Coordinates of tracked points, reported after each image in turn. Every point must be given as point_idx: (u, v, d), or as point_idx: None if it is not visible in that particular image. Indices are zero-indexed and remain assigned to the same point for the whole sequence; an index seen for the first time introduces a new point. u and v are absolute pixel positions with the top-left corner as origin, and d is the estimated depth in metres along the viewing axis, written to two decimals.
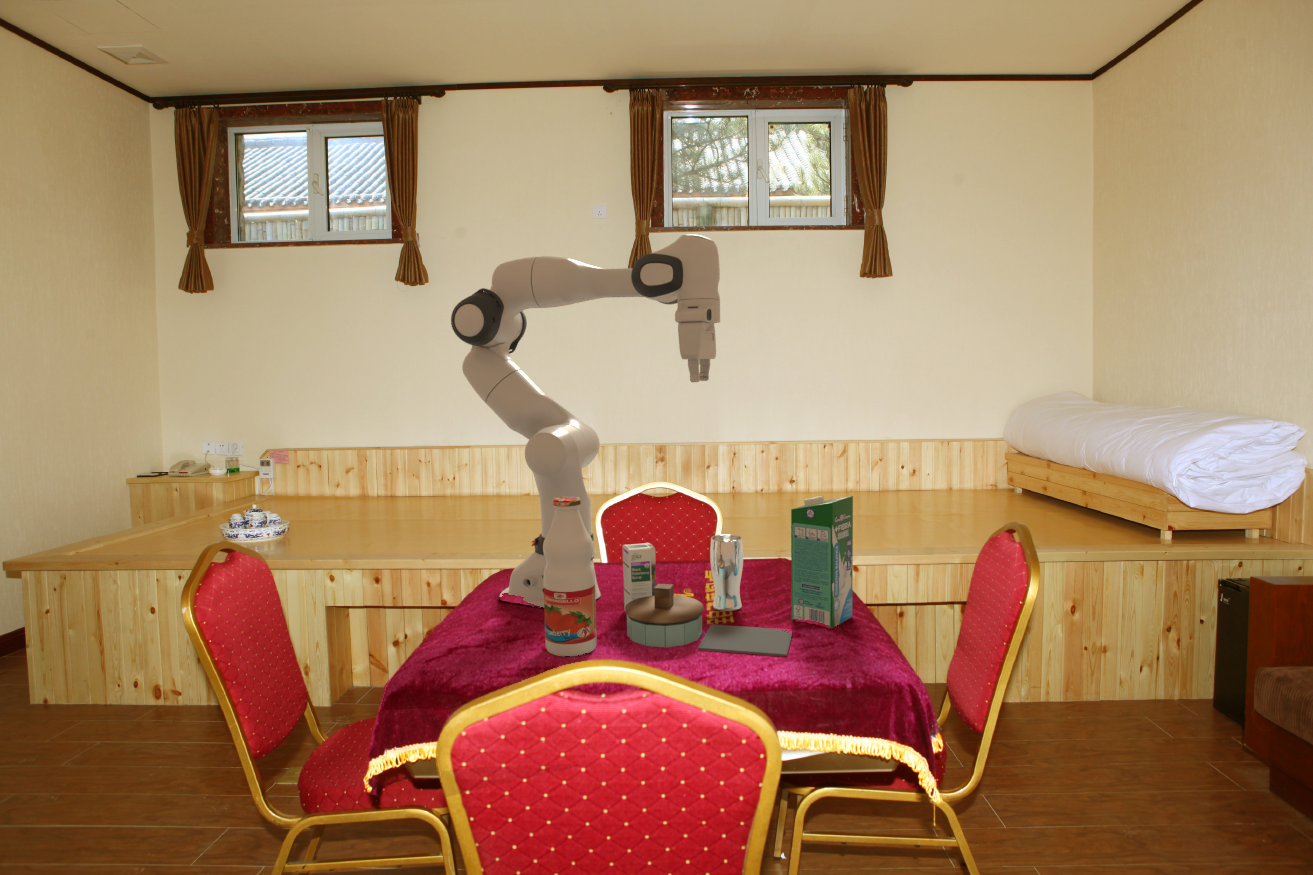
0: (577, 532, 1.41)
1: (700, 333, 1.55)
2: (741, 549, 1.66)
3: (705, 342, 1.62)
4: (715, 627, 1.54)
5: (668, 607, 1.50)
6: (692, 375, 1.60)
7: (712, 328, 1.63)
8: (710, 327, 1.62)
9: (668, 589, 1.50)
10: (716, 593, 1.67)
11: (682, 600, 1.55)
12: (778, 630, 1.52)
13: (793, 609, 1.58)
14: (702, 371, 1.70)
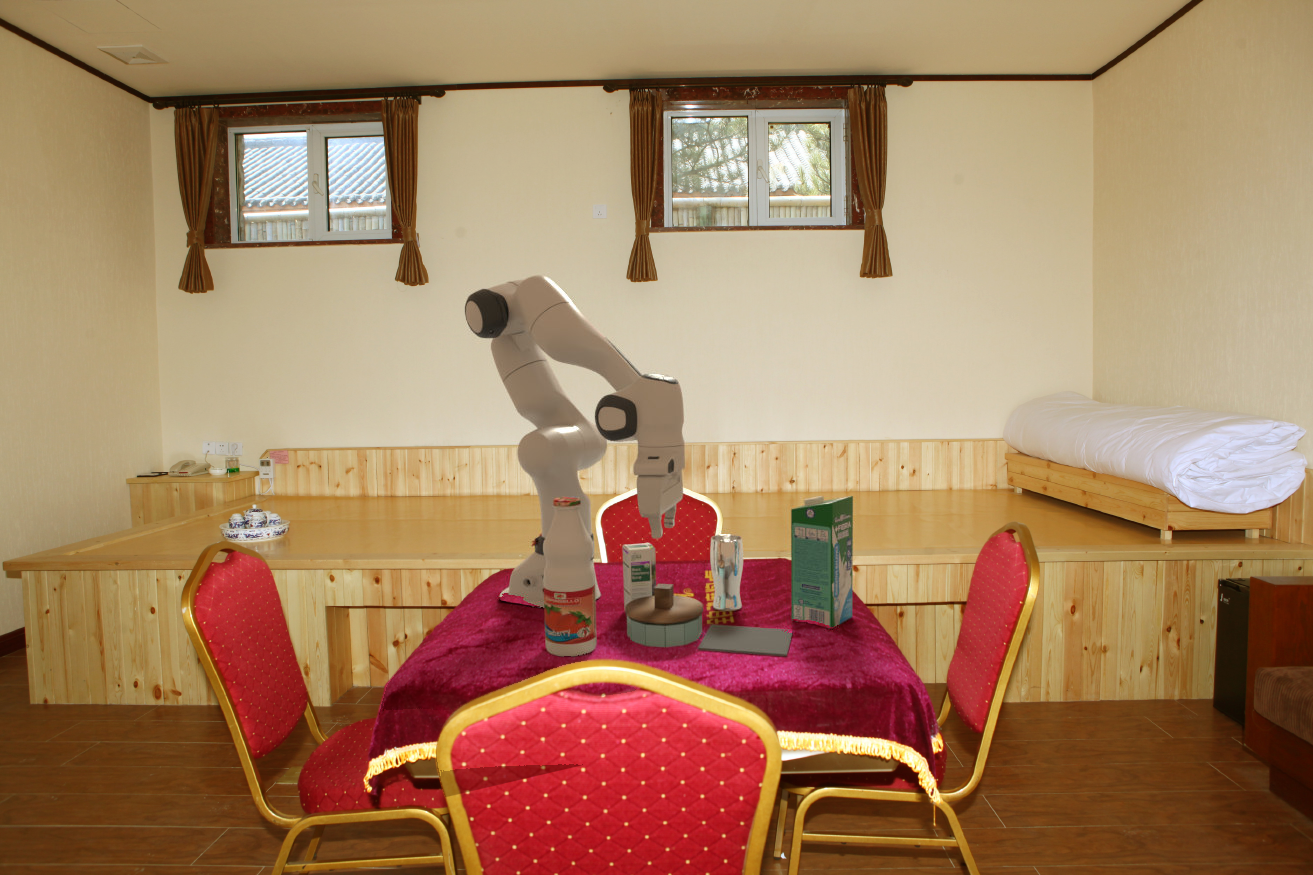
0: (577, 532, 1.41)
1: (661, 490, 1.40)
2: (741, 549, 1.66)
3: (668, 492, 1.47)
4: (715, 627, 1.54)
5: (668, 607, 1.50)
6: (654, 530, 1.45)
7: (676, 476, 1.48)
8: (673, 475, 1.47)
9: (668, 589, 1.50)
10: (716, 593, 1.67)
11: (682, 600, 1.55)
12: (778, 630, 1.52)
13: (793, 609, 1.58)
14: (667, 516, 1.55)
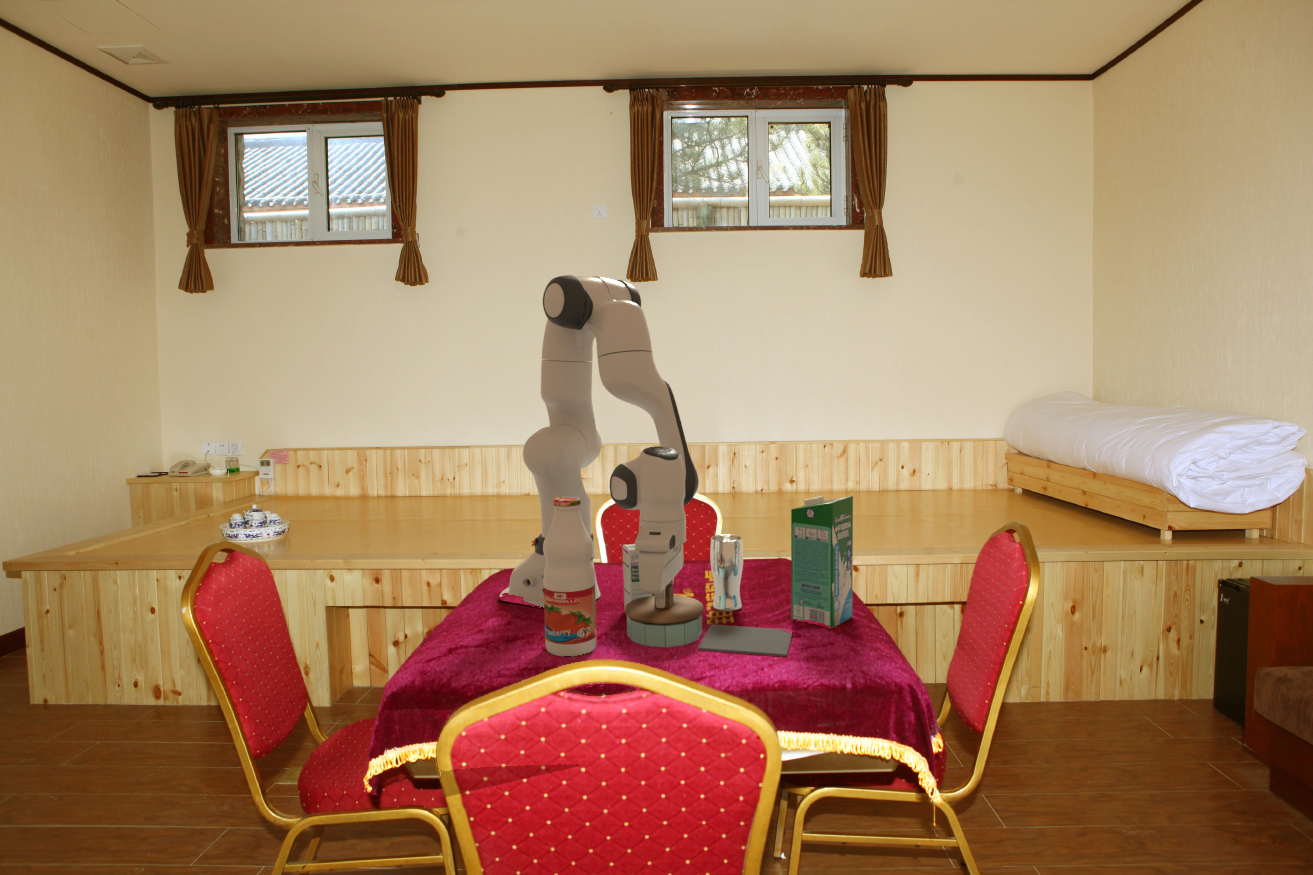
0: (577, 532, 1.41)
1: (662, 567, 1.41)
2: (741, 549, 1.66)
3: (669, 565, 1.49)
4: (715, 627, 1.54)
5: (668, 607, 1.50)
6: (658, 600, 1.49)
7: (677, 549, 1.49)
8: (675, 549, 1.49)
9: (668, 589, 1.50)
10: (716, 593, 1.67)
11: (682, 600, 1.55)
12: (778, 630, 1.52)
13: (793, 609, 1.58)
14: None
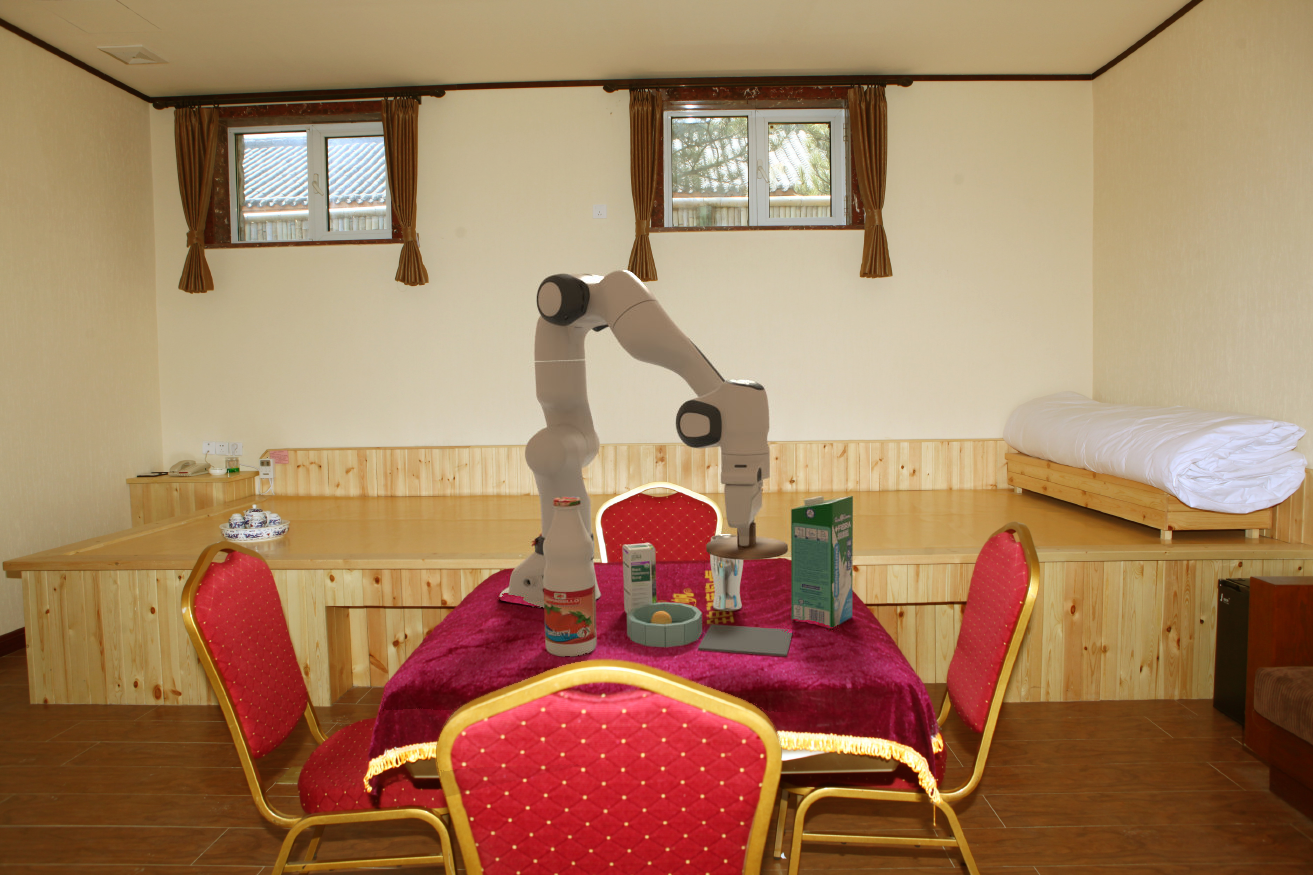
0: (577, 532, 1.41)
1: (750, 499, 1.36)
2: None
3: (753, 501, 1.43)
4: (715, 627, 1.54)
5: (752, 545, 1.44)
6: (741, 538, 1.43)
7: (761, 484, 1.44)
8: (759, 484, 1.43)
9: (752, 526, 1.44)
10: (716, 593, 1.67)
11: (763, 540, 1.50)
12: (778, 630, 1.52)
13: (793, 609, 1.58)
14: None
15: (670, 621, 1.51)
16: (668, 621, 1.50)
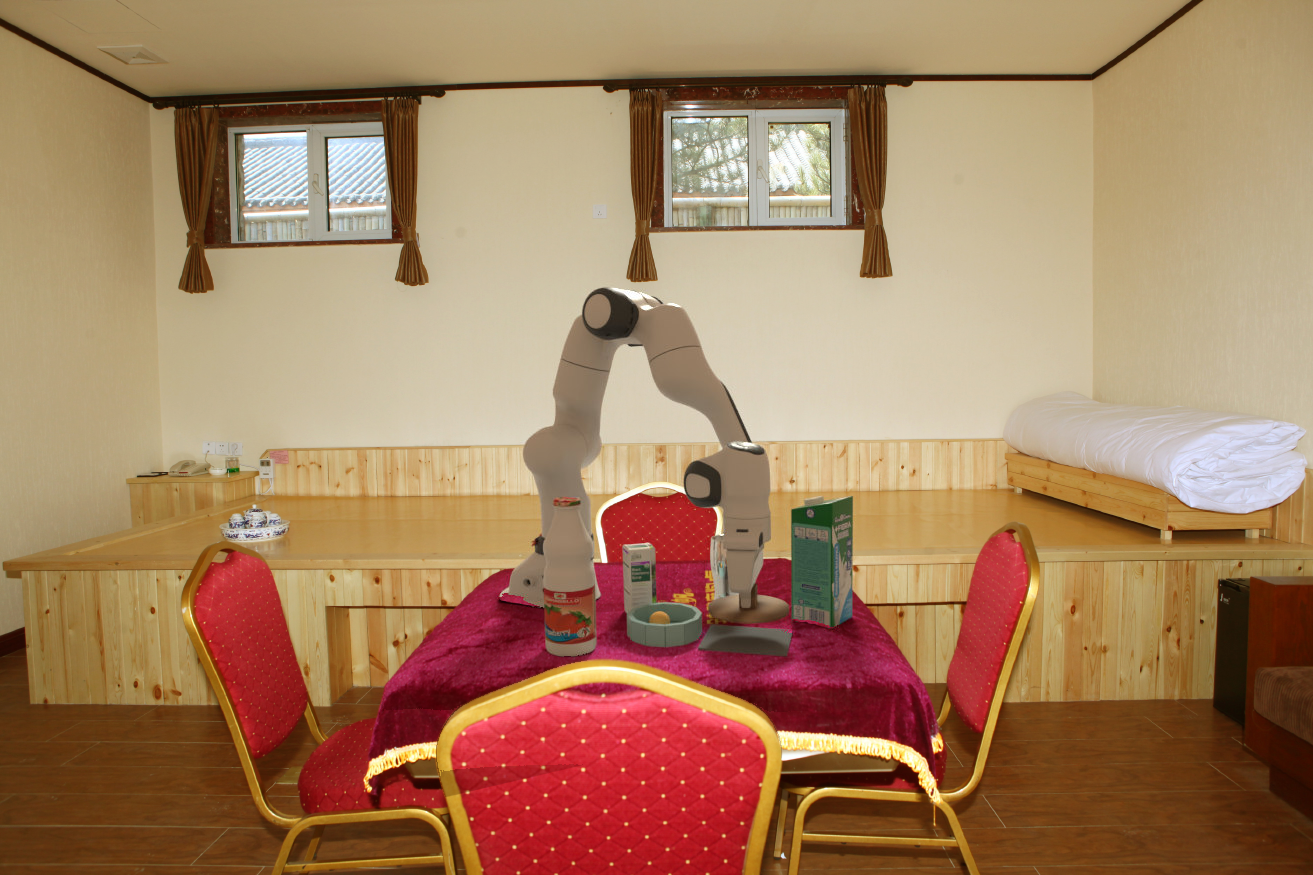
0: (577, 532, 1.41)
1: (752, 565, 1.37)
2: None
3: (755, 564, 1.44)
4: (715, 627, 1.54)
5: (753, 607, 1.46)
6: (743, 600, 1.45)
7: (762, 547, 1.45)
8: (760, 547, 1.44)
9: (753, 588, 1.45)
10: (716, 593, 1.67)
11: (765, 600, 1.51)
12: (778, 630, 1.52)
13: (793, 609, 1.58)
14: None
15: (668, 621, 1.51)
16: (666, 622, 1.50)
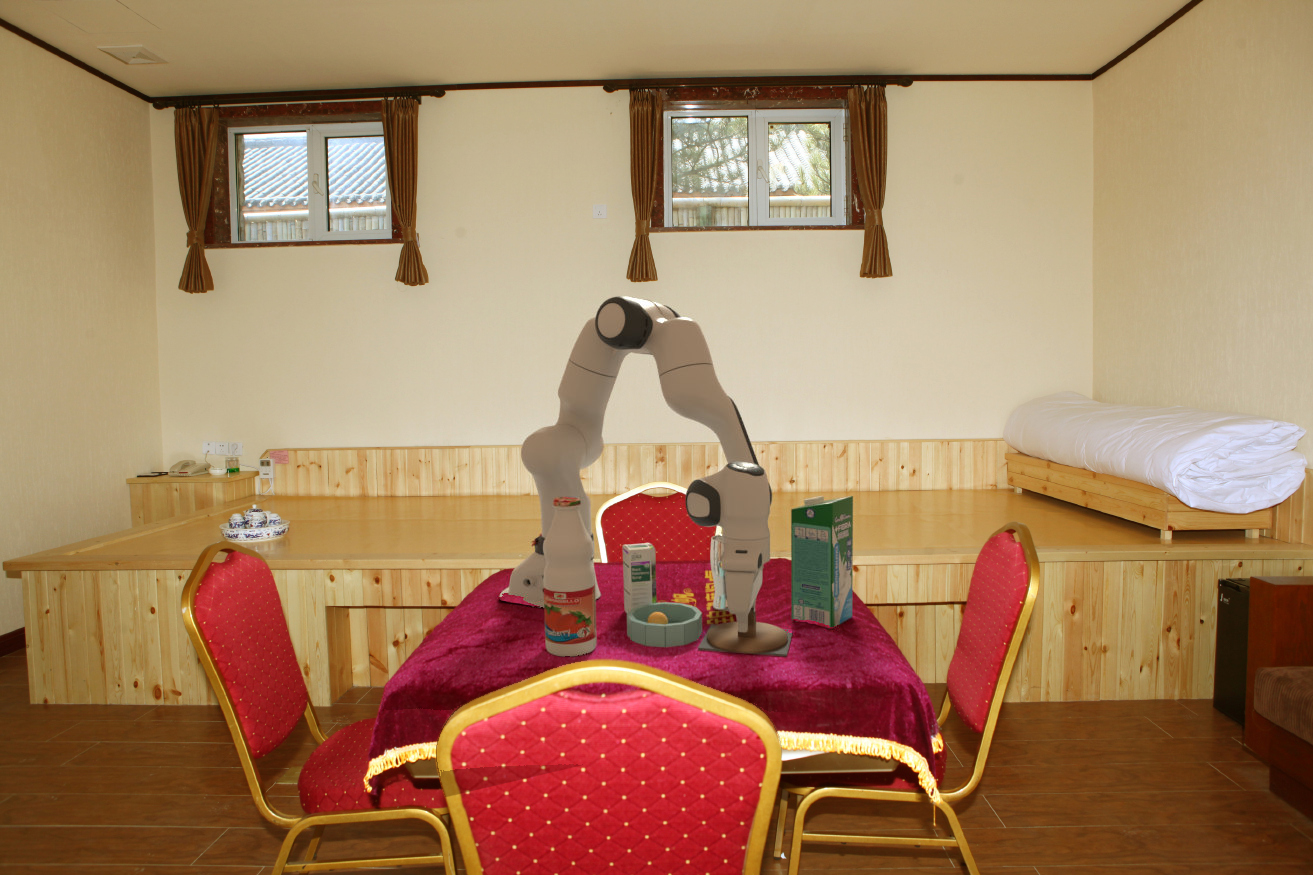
0: (577, 532, 1.41)
1: (751, 587, 1.37)
2: None
3: (754, 584, 1.44)
4: None
5: (752, 635, 1.46)
6: (740, 624, 1.43)
7: (761, 567, 1.45)
8: (759, 567, 1.44)
9: (752, 617, 1.46)
10: (716, 593, 1.67)
11: (764, 627, 1.51)
12: None
13: (793, 609, 1.58)
14: None
15: (665, 621, 1.50)
16: (663, 622, 1.50)
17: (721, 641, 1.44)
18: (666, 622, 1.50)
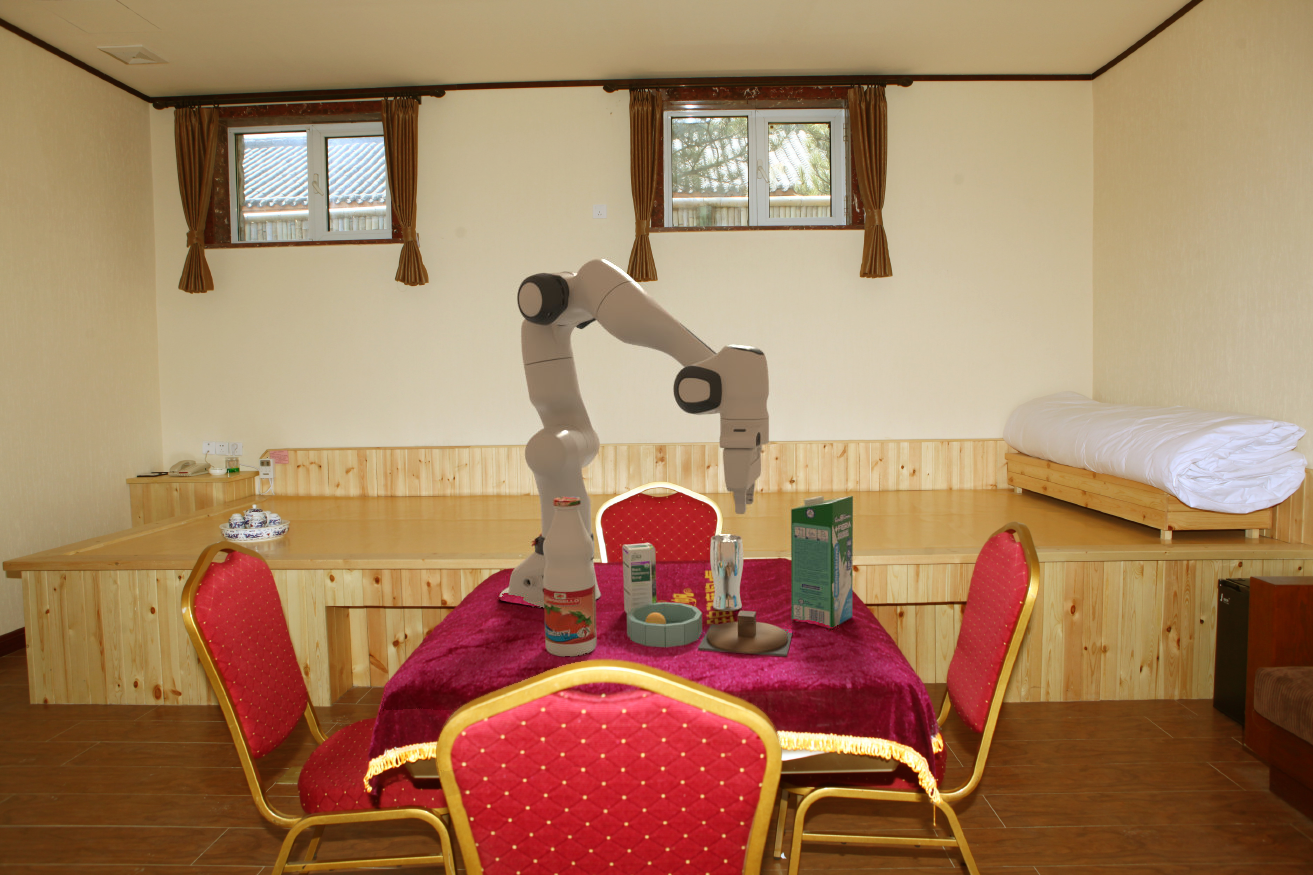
0: (577, 532, 1.41)
1: (749, 463, 1.35)
2: (741, 549, 1.66)
3: (752, 467, 1.42)
4: None
5: (752, 635, 1.46)
6: (738, 506, 1.41)
7: (760, 450, 1.43)
8: (758, 449, 1.43)
9: (752, 617, 1.46)
10: (716, 593, 1.67)
11: (764, 627, 1.51)
12: None
13: (793, 609, 1.58)
14: (746, 493, 1.51)
15: (662, 621, 1.50)
16: (661, 623, 1.49)
17: (721, 641, 1.45)
18: (663, 622, 1.50)
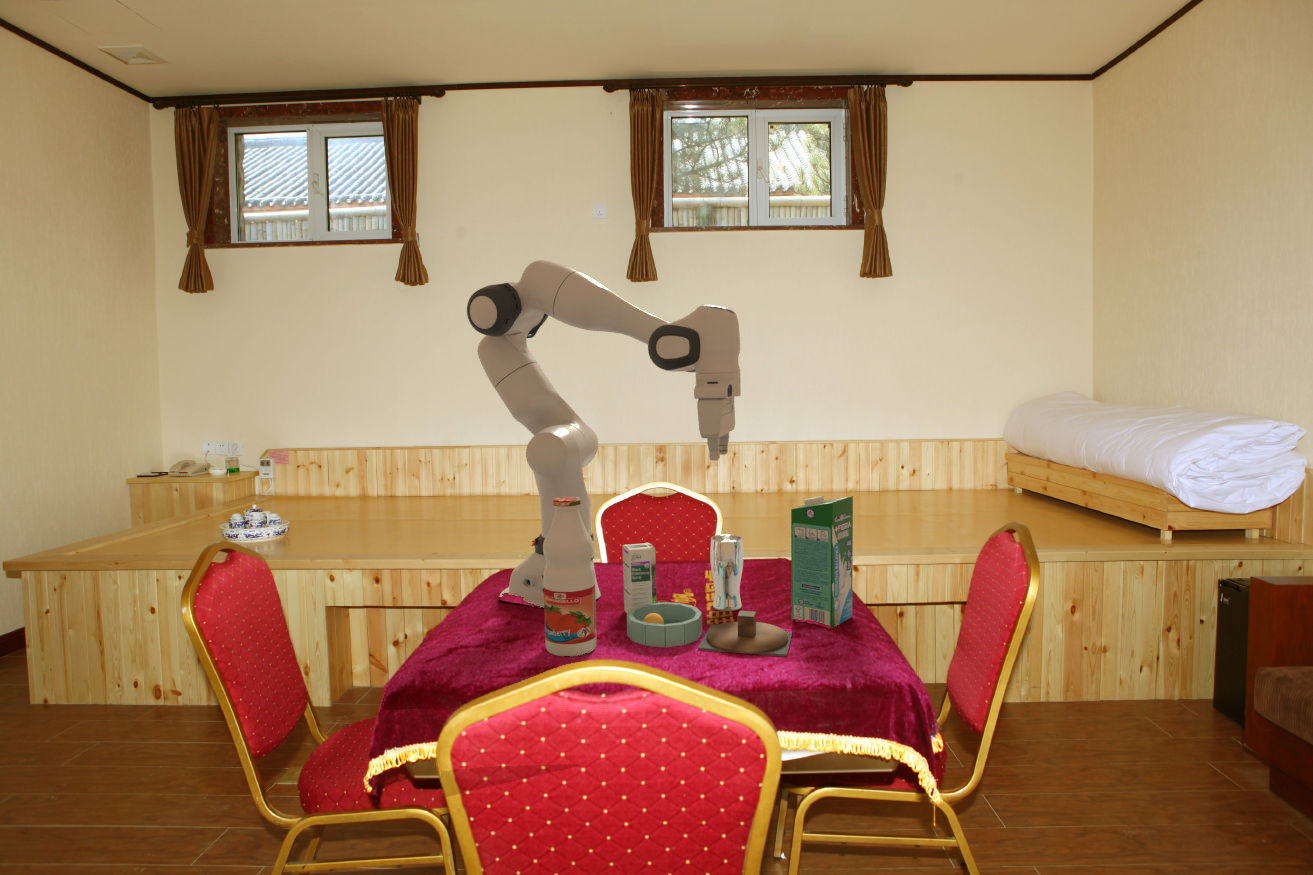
0: (577, 532, 1.41)
1: (721, 411, 1.47)
2: (741, 549, 1.66)
3: (725, 417, 1.54)
4: None
5: (752, 635, 1.46)
6: (712, 453, 1.52)
7: (732, 402, 1.55)
8: (730, 401, 1.54)
9: (752, 617, 1.46)
10: (716, 593, 1.67)
11: (764, 627, 1.51)
12: None
13: (793, 609, 1.58)
14: (721, 444, 1.62)
15: (660, 621, 1.49)
16: None
17: (721, 641, 1.44)
18: (661, 622, 1.49)
